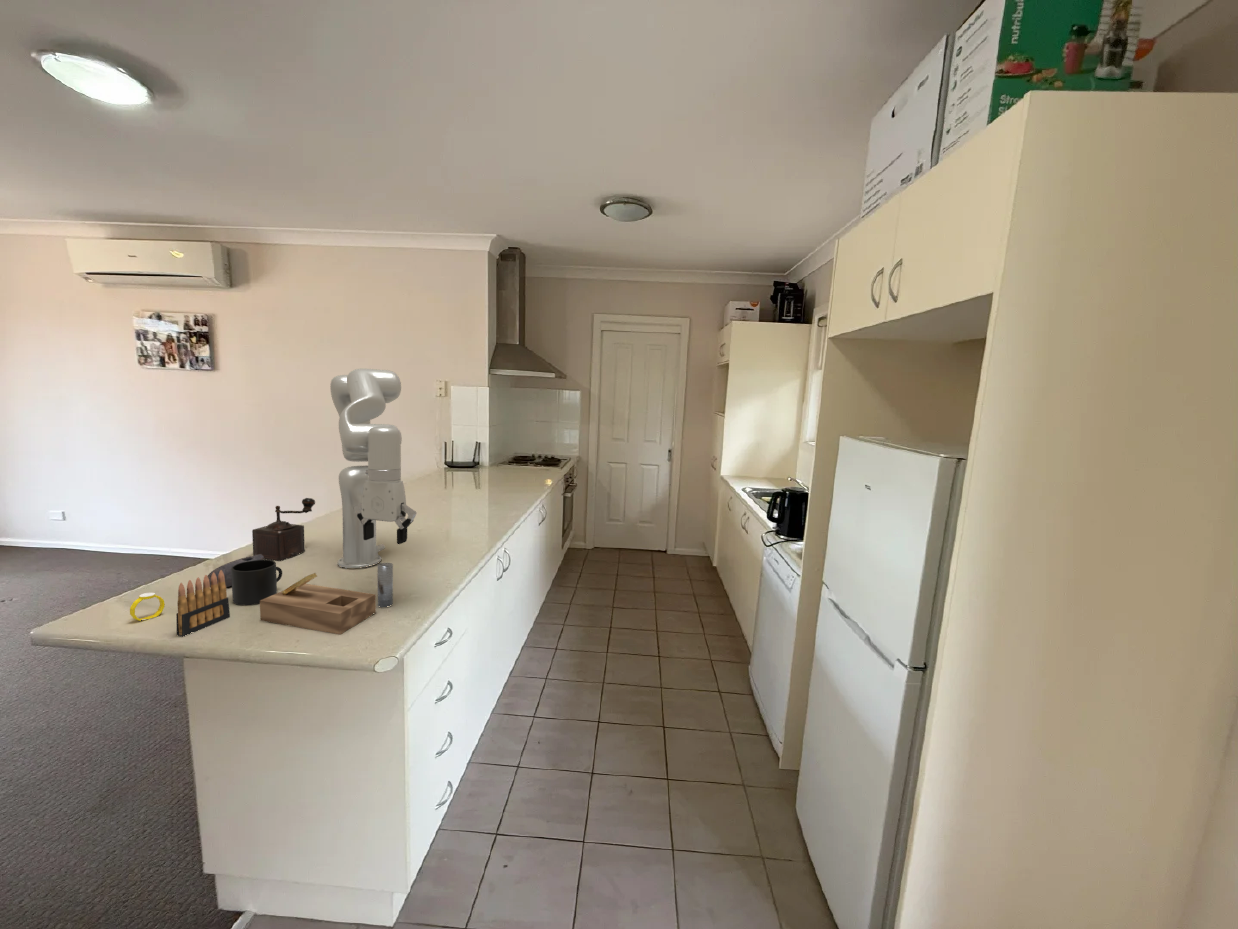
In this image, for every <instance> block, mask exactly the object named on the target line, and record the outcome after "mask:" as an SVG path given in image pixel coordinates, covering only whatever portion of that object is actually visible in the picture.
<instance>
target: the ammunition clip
mask: <svg viewBox="0 0 1238 929" xmlns="http://www.w3.org/2000/svg"><path fill="white" fill-rule="evenodd" d="M194 584H195V585H194ZM194 584H193V582H192V580H190V579H189V580H188V582H187V585H186V589H185V585H184V584H183V583H182V582H180V584H179V585H178V591H177V594H178V596H177V612H176V636H177V635H178V636H177V637H181V636H182V637H183V636H184V637H186V636H185V635H187V634H189V635H191V634H192V633H191V632H194V633H197V632H199V631H200V630H203V629H206V628H207V627H210V626H212V625H215V624H218V623H220V622H221V621H225V620H227V619H229V618H230V617H231V613H230V602H229V601H230V600H229V597H228V596H227V587H226V585H225V578H224V574H223V571H222V570H220V572H219V576H218V584H217V577H216V574H215V573H214V572H213V573H212V576H211V588H210V582H209V578H208V575H207V574H205V575H204V577H203V583H202V580H201V579H200V578H199V577H196V579H195V583H194ZM194 587H195V588H194ZM205 627H206V628H205ZM198 630H199V631H198ZM190 633H191V634H190ZM187 636H188V635H187ZM182 637H181V638H182ZM184 637H183V638H184Z"/></svg>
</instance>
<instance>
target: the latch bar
mask: <svg viewBox="0 0 1238 929" xmlns="http://www.w3.org/2000/svg"><path fill="white" fill-rule="evenodd" d="M317 577H318V575H317V573H316V572H314V573H312V574H309V575H307V576H304V577H302V578H301V579H300V580H298V581H297V582H295V583H294V584H292V585H290V586H288V587H287V588H285V589H283V590H282V594H283V595H285V594H287V593H290V592H292V591H294V590H296V589H298V588H299V587H301V586H303V585H304V584H308V583H309V582H310V581H313V580H314V579H315V578H317Z"/></svg>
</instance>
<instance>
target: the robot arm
mask: <svg viewBox="0 0 1238 929" xmlns="http://www.w3.org/2000/svg"><path fill="white" fill-rule="evenodd" d="M398 375H399V374H397V373H396V372H395V371H392V370H388V369H387V370H386V369H374V368H356V369H353V370H351V371H350V372H349V373H348V374H340V375H336V376H334V377H332V379H331V381H330V395H331V399H332V402H333V405H334V407H335V410H336V412H337V413H338V414H337V415H338V433H339V437H340V442H341V448H342V449H341V450H342V455H343V458H344V459H345V460H346V461H348V462H354V463H355V462H357V463H360V462H362V463H366V462H367V465H352V466H351V465H350V466H348V467H344V468H343V469H341V471H340V472H339V474H338V487H339V491H340V496H341V507H342V508H341V510H342V514H341V515H342V557H340V558H338V560H337V566H338V565H339V566H338V567H340V566H341V567H340V568H342V567H345V568H344V569H347V568H360V567H366V566H369V565H373V564H377V563H378V562H380V561H381V559H382V556H381V555H380V554H378V553H379V552H380V551H383V550H384V549H385V548H386V546H385V544H384V543H381V544H378V545H377V521H379V522H387V523H388V522H389V523H391V522H392V523H393V522H394V523H395V524H396V526H397V527H398V528H397V529H396V544H397V545H402V544H404V543H406V542H407V540H408V527H410V525H412V524H413V522H414V520H415V518H416V515H417V511H416V510H414V509H413V508H411V507H410V506H408V505H407V499H406V491H405V490H406V489H405V484H404V481H403V480H402V446H401V445H402V442H403V440H402V432H401V430H400V429H399V428H398V426H396V425H394V424H389V423H387V424H385V423H383V424H382V423H371V421H372V420H374V419H376V418H379V417H380V416H381V415H383V413H384V412H385V411H386V410H385V409H386V406H387V404H390V403H391V402H394V401H396V400H397V399H399V396H400V395H401V392H402V382H401V379H400V377H399V376H398ZM406 516H407V518H406ZM382 560H383V559H382ZM381 562H382V561H381ZM381 562H380V563H381ZM377 565H378V564H377ZM360 569H361V568H360Z"/></svg>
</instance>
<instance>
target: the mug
mask: <svg viewBox="0 0 1238 929" xmlns="http://www.w3.org/2000/svg"><path fill="white" fill-rule="evenodd" d="M276 562H277V561H274V560H266V559H264V560H252V561H246V562H242V563H239V564H236V565H234V566H233V567H232V568H231V576H232V586H231V593H232V595H231V596H232V602H233V604H235V605H240V606H253V605H258V604H259V605H260V600H262V599H265V598H267V597H269V596H272V595H274V594H277V593H278V586H277V585H278V582H279V581H280V580H281V579H282V576H283V570H282V569H281V567H279V566H277V563H276ZM277 571H278V575H277Z"/></svg>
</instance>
